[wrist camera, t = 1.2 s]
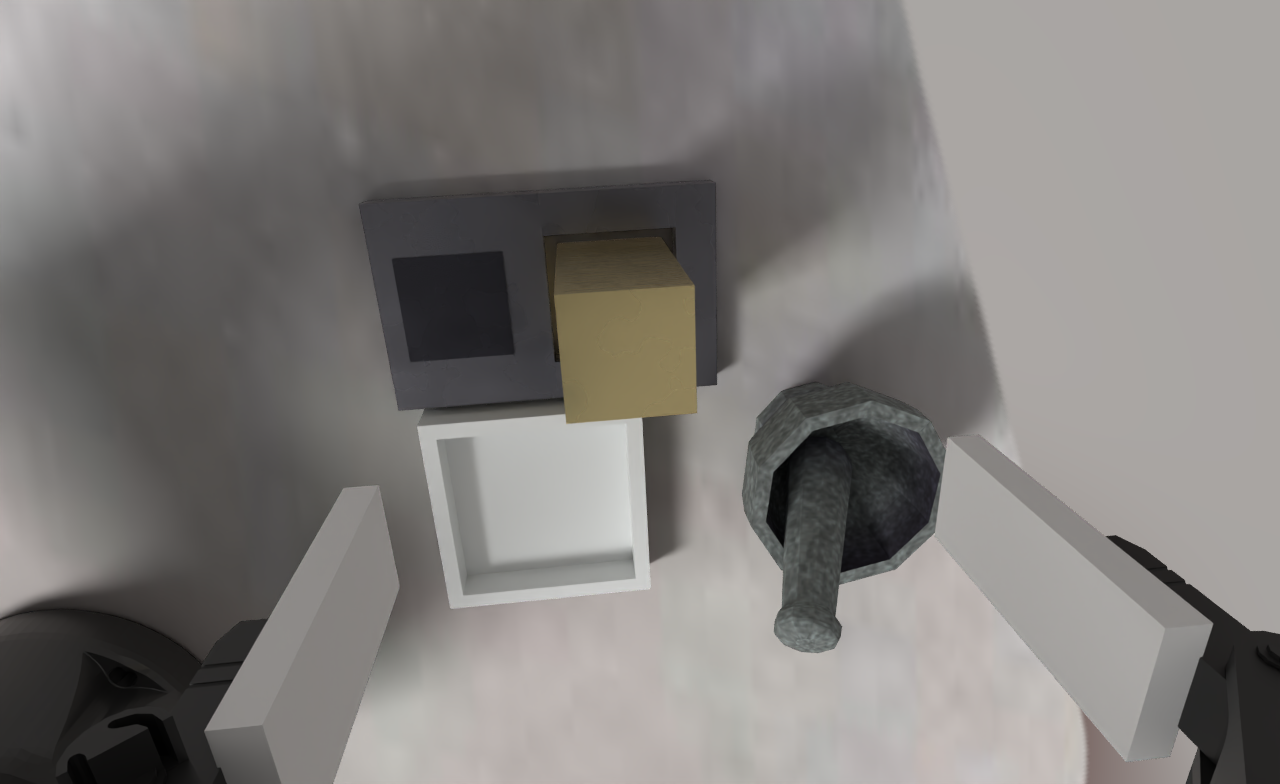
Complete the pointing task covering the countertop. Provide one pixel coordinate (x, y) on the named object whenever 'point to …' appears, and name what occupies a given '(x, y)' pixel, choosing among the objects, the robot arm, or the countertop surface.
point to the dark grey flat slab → (512, 283)
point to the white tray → (535, 502)
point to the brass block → (624, 330)
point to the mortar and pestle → (838, 497)
